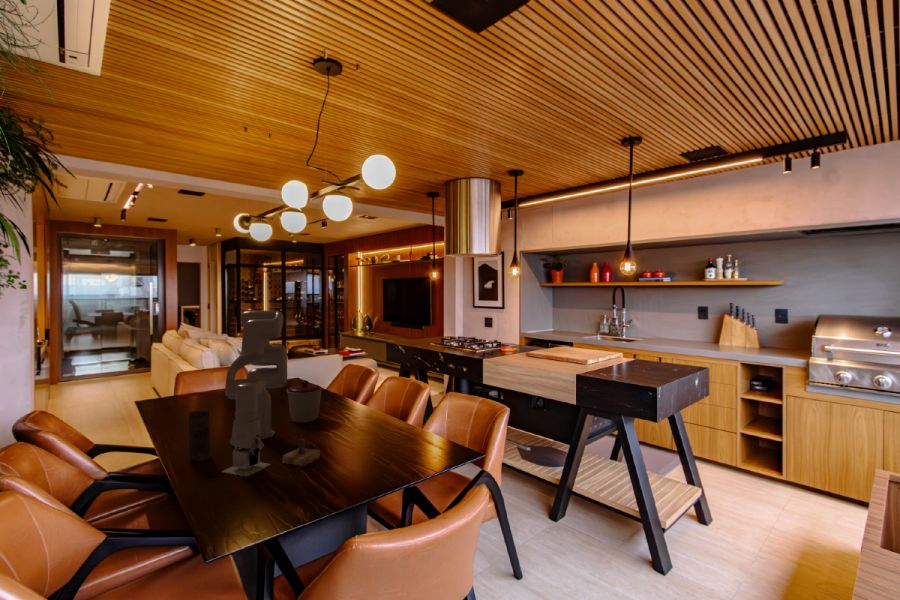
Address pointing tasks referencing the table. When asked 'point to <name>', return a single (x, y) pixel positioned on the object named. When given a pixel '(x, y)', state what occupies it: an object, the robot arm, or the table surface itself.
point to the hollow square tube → (243, 458)
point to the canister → (304, 402)
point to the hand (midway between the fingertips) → (246, 462)
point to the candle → (199, 435)
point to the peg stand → (301, 455)
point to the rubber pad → (245, 470)
